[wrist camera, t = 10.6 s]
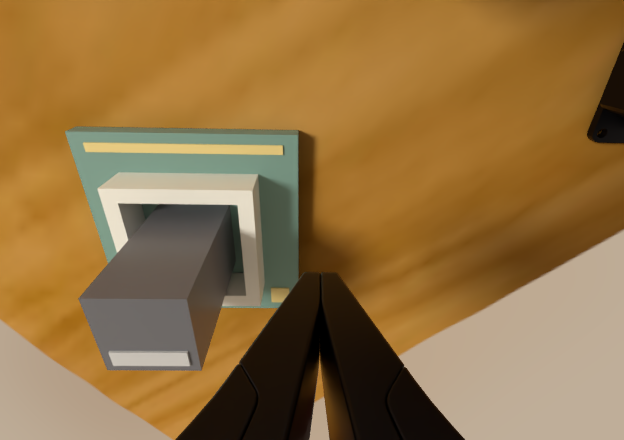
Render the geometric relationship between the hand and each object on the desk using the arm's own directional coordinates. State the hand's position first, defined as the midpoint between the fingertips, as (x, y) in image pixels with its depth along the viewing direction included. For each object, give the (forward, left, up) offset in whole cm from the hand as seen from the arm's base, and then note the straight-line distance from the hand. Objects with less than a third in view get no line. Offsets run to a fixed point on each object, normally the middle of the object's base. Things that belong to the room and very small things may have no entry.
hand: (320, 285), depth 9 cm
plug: (+7, +5, -11) cm, 14 cm away
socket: (+7, +5, -12) cm, 15 cm away
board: (+7, +5, -12) cm, 15 cm away
